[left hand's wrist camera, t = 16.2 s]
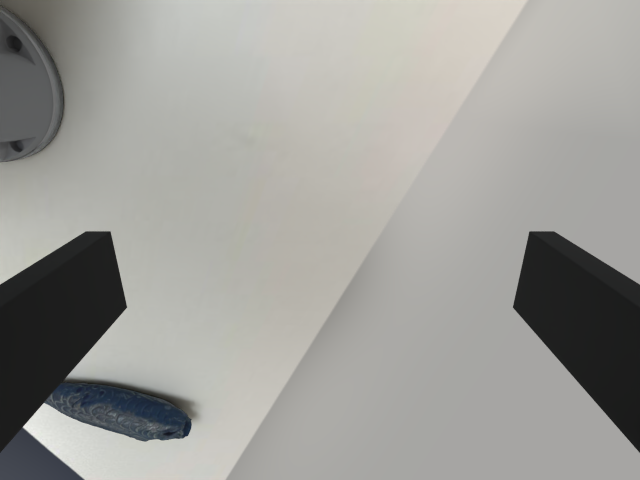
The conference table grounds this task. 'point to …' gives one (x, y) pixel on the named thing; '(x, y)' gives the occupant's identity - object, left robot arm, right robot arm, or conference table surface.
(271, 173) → the conference table surface
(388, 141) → the conference table surface
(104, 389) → the fish model
